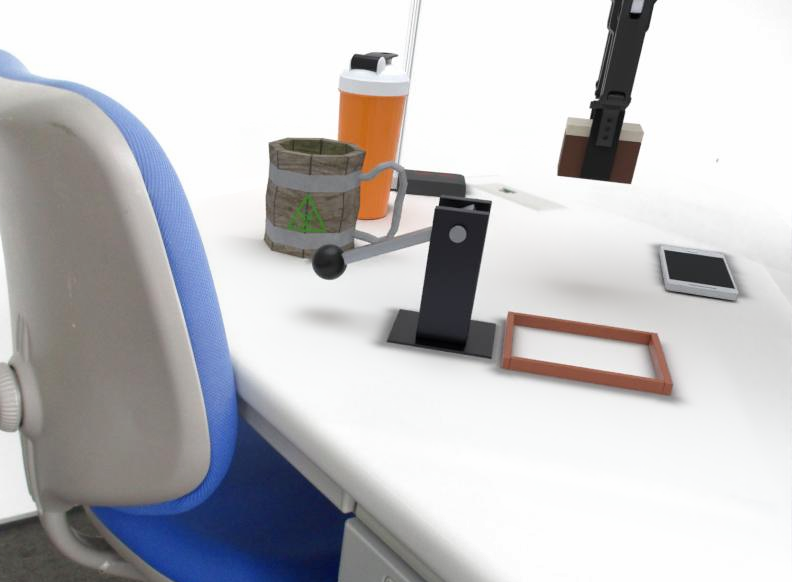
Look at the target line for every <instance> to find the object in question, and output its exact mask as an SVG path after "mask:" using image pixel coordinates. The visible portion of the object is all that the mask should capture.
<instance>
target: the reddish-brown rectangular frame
mask: <svg viewBox="0 0 792 582" xmlns="http://www.w3.org/2000/svg"><path fill="white" fill-rule="evenodd" d="M515 325H516V326H520V327H528V328H535V329H540V330H548V331H554V332H555V331H556V332H562V333H568V334H574V335H575V334H576V335H581V336H588V337H595V338H602V339H608V340H613V341H619V342H620V341H621V342H626V343H627V342H628V343H634V344H640V345H647V346H648V349H649V352H650V356H651V360H652V364H653V367H654V371H655V374H656V375H655V376H656V378H652V377H646V376H641V375H633V374H629V373H622V372H615V371H609V370H602V369H596V368H592V367H591V368H589V367H584V366H577V365H571V364H566V363H565V364H564V363H559V362H552V361H547V360H546V361H545V360H540V359H534V358H527V357H521V356H516V355H512V348H513V338H514V337H513V336H514V326H515ZM500 368H501V369H504V370H509V371H515V372H522V373H528V374H533V375H534V374H535V375H541V376H547V377H553V378H559V379H565V380H571V381H577V382H584V383H590V384H594V385H595V384H596V385H602V386H608V387H613V388H614V387H615V388H620V389H627V390H633V391H639V392H644V393H645V392H646V393H650V394H651V393H652V394H657V395H662V396H671V393H672V390H673V386H674V382H673V379H672V376H671V373H670V370H669V367H668V362H667V360H666V357H665V353H664V350H663V347H662V343H661V340H660V337H659V334H658V332H652V331H651V332H650V331H645V330H644V331H643V330H637V329H631V328H623V327H617V326H610V325H604V324H597V323H590V322H583V321H576V320H571V319H564V318H556V317H548V316H544V315H536V314H530V313H523V312H518V311H517V312H514V311H507V315H506V321H505V328H504V337H503V347H502V357H501V366H500Z"/></svg>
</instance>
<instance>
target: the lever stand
mask: <svg viewBox="0 0 792 582" xmlns="http://www.w3.org/2000/svg"><path fill="white" fill-rule="evenodd" d="M438 199H439V200H438V205H435V207H434V211H433V217H432V225H431V226H432V230H431V237H430V241H429V243H428V252H427V256H426V257H427V258H426V264H425V271H424V278H423V285H422V290H421V298H420V304H419V311H415V310H410V309H404V308H403V309H402V308H399V310H398V313H397V315H396V317H395V319H394V322H393V325H392V328H391V330H390V332H389V334H388V336H387V339H386V343H390V344H395V345H402V346H407V347H413V348H419V349H420V348H421V349H427V350H433V351H439V352H445V353H451V354H458V355H463V356H464V355H465V356H469V357H476V358H483V359H490V360H492V358H493V350H494V342H495V334H496V326H497V323H495V322H488V321H483V320H475V319H472V316H473V310H474V306H475V305H474V304H475V299H476V294H477V288H478V284H479V283H478V282H479V276H480V272H481V266H482V260H483V255H484V250H485V243H486V238H487V234H488V233H487V232H488V227H489V221H490V216H491V210H492V205H493V201H492V200H489V199H480V198H474V197H473V198H472V197H466V196H465V197H457V196H448V195H441V196H439V198H438ZM473 204H474V205H475V208H476V210H468V209H460V208H463V207H466V206H469V205H473Z"/></svg>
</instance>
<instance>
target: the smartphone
mask: <svg viewBox="0 0 792 582" xmlns="http://www.w3.org/2000/svg"><path fill="white" fill-rule="evenodd" d="M658 253H659V254H658V255H659V259H660V264H661V270H662V276H663V283H664V288H665V290H666V291H671V292H678V293H683V294H690V295H697V296H703V297H709V298H715V299H723V300H729V301H737V299H738V296H739V290H738V287H737V284H736V282H735V280H734V277H733V275H732V271H731V270H730V267H729V265H728V263H727V262H728V261H727V260H726V257H725V254H722V253H718V252H713V251H705V250H697V249H691V248H683V247H677V246H668V245H660V248H659V251H658Z"/></svg>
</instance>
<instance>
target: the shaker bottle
mask: <svg viewBox="0 0 792 582" xmlns="http://www.w3.org/2000/svg"><path fill="white" fill-rule="evenodd" d="M398 57H399V54H398V53H393V52H386V51H372V52H368V53H365V54H363V53H353V54H352V55H351V56H350V59H349V65H348V66H346V67H345V68H344V69H343V70H342V71H341V73H340V74H339V79H338V80H339V81H338V87H337V90H338V92H339V100H338V101H339V103H338V104H339V105H338V125H337V141H343V142H349V143H354V144H356V145H357V146H359V147H360V148H362V149H363V150H365V151H366V155H365V159H364V163H363V168H362V173H368V172H369V171H371V170H372V169H373V168H374V167H376V166H377V165H378V164H380V163H384V162H388V161H393V162H395V163H396V160H397V154H398V149H399V142H400V136H401V132H402V131H401V130H402V123H403V119H404V112H405V107H406V101H407V97H408V96H409V91H410V83H411V79H410V77H409V75H408V73H407V72H406V71H405V70H404V69H403V68H401V67H399V66H397V65H395V64H392V63H393V62H392V61H393V59H394V58H398ZM393 172H395V170H393V169H392V168H389V169H386V170H384V171H382V172H381V173H380V174H378V175H377V176H376V177H375V178H374V179H372V180H370V181H361V184H360V208H359V213H358V218H357V220H377V219H381V218H384V217H385V216H386V215H387V212H388V207H389V201H390V195H391V190H392V189H391V184H392V178H393Z"/></svg>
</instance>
